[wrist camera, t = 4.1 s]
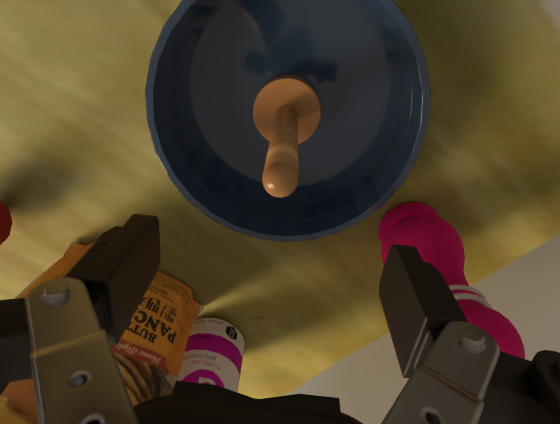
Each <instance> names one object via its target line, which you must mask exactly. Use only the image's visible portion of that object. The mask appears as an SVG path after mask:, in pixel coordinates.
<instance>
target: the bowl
mask: <svg viewBox="0 0 560 424" xmlns="http://www.w3.org/2000/svg"><path fill="white" fill-rule="evenodd" d="M282 74H293V75H297V76H300V77H302V78H304V79H305V80H307V81H308V82H309V83H310V84H311V85H312V86H313V88H314V89H315V91H316V93H317V96H318V99H319V103H320V108H321V115H320V121H319V124H318V127H317V128H316V130H315V132H314V133H313V134H312V135H311V137H309V138H308V139H307V140H306V141H304V142H302V143H300V144H298V184H297V187H296V189H295V190H294V192H293V193H292V194H290V195H289V196H286V197H282V198H281V197H274V196H272V195H270V194H269V193H268V192H267V191H266V190H265V188H264V186H263V182H262V176H263V171H264V167H265V162H266V157H267V152H268V148H269V143H270V141H268V140H267V139H266V138H264V137H263V136H262V135H261V133H260V132H259V131H258V129H257V127H256V125H255V122H254V117H253V107H254V103H255V100H256V97H257V95H258V93H259V91H260V89H261V88H262V86H263V85H264V84H265V83H266V82H267V81H268V80H270V79H271V78H273V77H275V76H278V75H282ZM145 90H146V91H145V94H146V111H147V124H148V127H149V131H150V134H151V138H152V141H153V145H154V148H155V152H156V154H157V156H158V158H159V159H160V161H161V163H162V165H163V167H164V169H165V171H166V173H167V175H168V176H169V178H170V179H171V181H172V182H173V183H174V184H175V186H176V187H177V188H178V189H179V190H180V192H181V193H182V194H183V195H184V197H185V198H186V199H187V200H188V201H189V202H190V203H191V204H193V205H194V206H195V207H196V208H198V209H199V210H200V211H201V212H202V213H204V214H205V215H206V216H207V217H209V218H210V219H212V220H214V221H216V222H217V223H219V224H221V225H223V226H225V227H227V228H229V229H230V230H232V231H233V230H234V231H235V232H238V233H242V234H245V235H248V236H251V237H254V238H258V239H264V240H273V241H282V242H285V241H286V242H291V241H303V240H314V239H317V238H321V237H325V236H328V235H332V234H335V233H338V232H341V231H343V230H345V229H347V228H349V227H351V226H353V225H355V224H357V223H359V222H361V221H363V220H364V219H366V218H367V217H368V216H370V215H371V214H372V213H373V212H375V211H376V210H377V209H379V208H380V207H381V206H382V205H384V204H385V202H387V201H388V200H389V198H390V197H391V196H392V195H393V194H394V193H395V191H396V190H397V189H398V188H399V187H400V186H401V184H402V183H403V182H404V180H405V179H406V178H407V176H408V174H409V172H410V170H411V169H412V167H413V165H414V163H415V161H416V159H417V158H418V156H419V153H420V150H421V147H422V144H423V140H424V137H425V134H426V130H427V127H428V123H429V109H430V94H431V91H430V90H431V89H430V83H429V77H428V71H427V65H426V58H425V55H424V53H423V50H422V48H421V46H420V43H419V41H418V39H417V36H416V34H415V32H414V29H413V27H412V25H411V23H410V22H409V20H408V19H407V18H406V16H405V15H404V14H403V13H402V11H401V10H400V9H399V7H398V6H397V5H396V3H395V2H394V1H393V0H182V2H181V3H180V4H179V6H178V7H177V8H176V10H175V11H174V12H173V14H172V15H171V16H170V18H169V19H168V21H167V22H166V23H165V26H163V29H162V31H161V34H160V36H159V38H158V41H157V43H156V46H155V48H154V50H153V53H152V55H151V58H150V64H149V70H148V76H147V82H146V88H145Z"/></svg>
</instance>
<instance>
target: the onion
mask: <svg viewBox="0 0 560 424" xmlns="http://www.w3.org/2000/svg"><path fill="white" fill-rule="evenodd" d="M11 226H12V218H11V214H10V211H9V210H8V208H7V207H6V206H5V205H4V204H3V203H2V202H1V201H0V245H1V244H2V243H3V242H4V241H5V240H6V239H7V238H8V236H9V235H10V231H11Z"/></svg>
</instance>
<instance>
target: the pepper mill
mask: <svg viewBox="0 0 560 424" xmlns="http://www.w3.org/2000/svg"><path fill="white" fill-rule="evenodd" d="M379 238H380V241H381V243H382V248H381V256H382V261H383V264H384V266H385V262H386V259H387V256H388V252H389V249H390V247H391V245H392V244H398V245H407V246H415V247H416V248H417V250H418V252H419V254H420V256H421V258H422V260H423V262H430V263H431V264H432V265H433V266H434V267H435V268H436V269H437V270H439V271H440V272H441V274H442V275H443V277H444V279H445V281H446V283H447V285H448V286H449V288H450V290H451V291H452V294H453V295H454V297H455V299H456V300H457V302H458V304H459V306H460V308H461V309H462V311H463V313H464V315H465V316H466V318H467V320H468V322H469V323H471V324H473V325H476V326H478V327H480V328H481V329H483V330H484V331H486V332H487V333H488V334H490V335H491V336H492V337H493V338H494V340H495V341H496V342H497V344H498V346H499V349H500V351H503V352H505V353H508V354H511V355H514V356H517V357H520V358H523V359H525V351H524V346H523V343H522V340H521V338H520V335H519V334H518V332H517V330H516V329H515V327H514V326H513V325H512V323H511V322H510V321H509V320H508V319H507V318H505V317H504V316H503V315H502V314H500V313H499V312H497V311H495V310H493V309H492V307H491V306H490V304H489V303H488V302H487V300H486V298H485V297H484V295H483V294H482V293H481V292H480V291H479V290H477V289H475V288H473V287H470V286H469V284H468V282H467V280H466V278H465V276H464V272H463V270H464V260H465V255H464V248H463V243H462V241H461V239H460V237H459V235H458V233H457V232H456V230H455V229H454V228H453V227H452V226H451V225H450V224H449V223H448V222H446V221H445V220H443V219H441V218H440V217H439V216H438V214H437V213H436V212H435V210H434V209H432V208H431V207H429V206H428V205H426V204H423V203H419V202H409V203H404V204H400V205H398V206H396V207H394V208H392V209H391V210H390V211H388V212H387V214H386V215H385V216H384V217H383V219H382V220H381V222H380V225H379Z"/></svg>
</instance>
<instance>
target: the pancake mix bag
mask: <svg viewBox="0 0 560 424" xmlns="http://www.w3.org/2000/svg"><path fill="white" fill-rule="evenodd" d="M96 241H97V240H96ZM96 241H94V242H92V243H90V244H88V245H84V244H80V243H76V242H71V244H70V246H69V247H68V249H67V251H66V252H65V254H64V256H63V258H61V259H60V260H58V261H57V262H56V263H54V264H53V265H52V266H51V267H50V268H48V269H47V270H46V271H45V272H44V273H42V274H41V275H40V276H39V277H38V278H36V279H35V280H34V281H33V282H31V283H30V284H29V285H28V286H27V287H26V288H25V289H24V290H23V291H22V292H21V293H20V294H19V295H18V296H17V297H16V298H15V299H17V298H25V297H26V295H27V294H28V293H29V291H30V290H32V289H33V288H34V287H36V286H37V285H39V284H41V283H43V282H45V281H48V280H51V279H56V278H64V277H65V275H66V274H67V273H68V272H69V271H70V270H71V269H72V268H73V266H74V265H75V264H76V263H77V262H78V261H79V260H80V259H81V257H82V256H83V255H84V254H85V253H86V252H88V250H89V248H90V247H91V246H92V245H94V244H95V242H96ZM203 308H204V306H202V305H201V304H200V303H198V302H197V301H196V300H194V297H193V291H192V288H190V287H189V286H187V285H186V284H185V283H183V282H182V281H180V280H178V279H176V278H174V277H172V276H170V275H169V274H167V273H165V272H163V271H161V270H159V269H158V271H157V273H156V275H155V277H154V279H153V280H152V282H151V284H150V286H149V288H148V290H147V291H146V293H145V295H144V297H143V299H142V301H141V302H140V304H139V306H138V308H137V310H136V312H135V313H134V315H133V317H132V319H131V321H130V323H129V324H128V326H127V328H126V330H125V332H124V333H123V335H122V337H121V339H120V341H119V343H118V344H117V345H111V347H112V350H113V353H114V355H115V358H116V361H117V364H118V366H119V369H120V372H121V374H122V377H123V380H124V383H125V385H126V388H127V391H128V394H129V396H130V399H131V402H132V404H133V407H134V406H136V405H138V404H140V403H142V402H144V401H147V400H149V399H152V398H155V397H159V396H163V395H168V394H172V391H173V388H174V385H175V382H176V381H178V379H179V375H180V372H181V368H182V365H183V361H184V353H185V348H186V344H187V341H188V338H189V335H190V332H191V330H192V328H193V325H194V323H195V321H196V319H197V317H198V316H199V314H200V313H201V311H202V310H203ZM0 424H39V417H38V410H37V403H36V396H35V389H34V382H33V378H32V379H26V380H20V381H14V382H10V383H9V384H8V386H7V387H6V388H5V390H4V391H3V393H2V394H1V396H0Z"/></svg>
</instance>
